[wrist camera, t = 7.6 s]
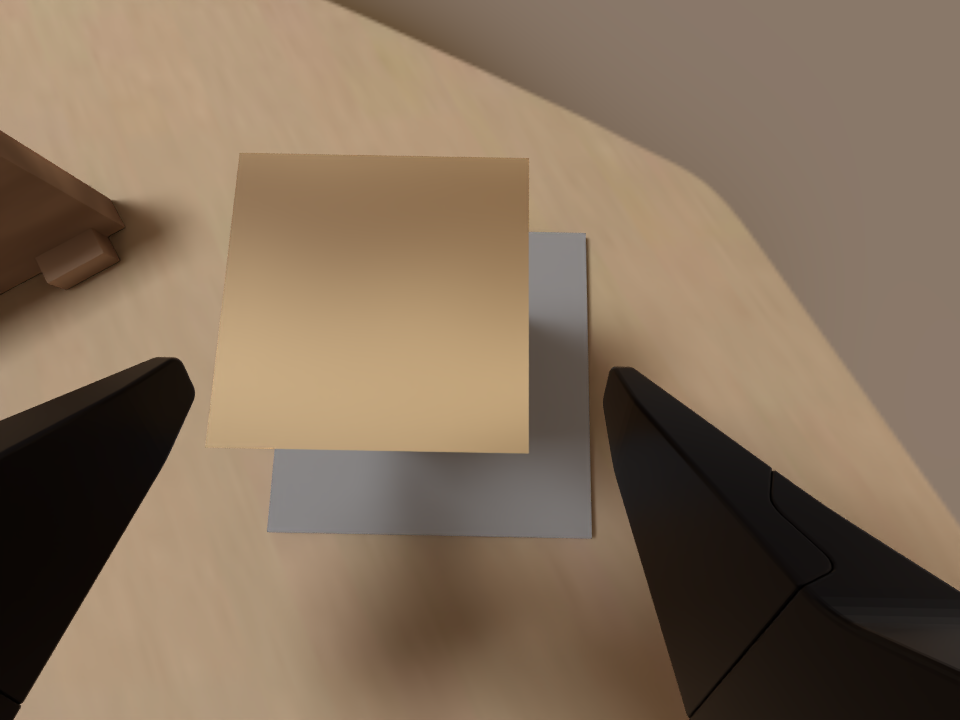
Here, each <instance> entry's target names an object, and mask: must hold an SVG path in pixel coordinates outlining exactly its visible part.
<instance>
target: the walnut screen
mask: <svg viewBox="0 0 960 720" xmlns="http://www.w3.org/2000/svg"><path fill="white" fill-rule="evenodd" d="M123 228H125V226H124V224H123V222H122V221H121V219H120V217H119V215H118V213H117V211H116V209H115V207H114V205H113V203H112V202H111V200H110V199H109V198H107V197H106V196H104V195H103V194H101V193H99V192H98V191H96V190H95V189H93V188H91V187H90V186H88V185H87V184H85V183H83V182H82V181H80V180H79V179H77V178H75V177H74V176H72V175H71V174H69V173H67V172H66V171H64V170H63V169H61V168H60V167H58V166H56V165H55V164H53V163H52V162H50V161H48V160H47V159H45V158H44V157H42V156H40V155H39V154H37V153H36V152H34V151H32V150H31V149H29V148H28V147H26V146H24V145H23V144H21V143H20V142H18V141H16V140H15V139H13V138H12V137H10V136H8V135H7V134H5V133H4V132H2V131H0V294H2V293H4V292H6V291H7V290H9V289H11V288H13V287H15V286H17V285H19V284H20V283H22V282H24V281H26V280H28V279H30V278H32V277H34V276H35V275H37V274H39V273H41V272H42V273H43V276H44V278H45V280H46V282H47V283H48V284H51V285H54V286H56V287H59V288H62V289H65V290H67V289H69V288H71V287H73V286H74V285H76V284H78V283H80V282H82V281H84V280H85V279H87V278H89V277H91V276H93V275H95V274H96V273H98V272H100V271H102V270H104V269H106V268H107V267H109V266H111V265H113V264H115V263H117V262H119V261H120V260H119V258H118V256H117V254H116V252H115V250H114V248H113V246H112V244H111V242H110V240H109V239H108V236H110V235H112V234H114V233H115V232H117V231H119V230H121V229H123Z"/></svg>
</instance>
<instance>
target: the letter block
mask: <svg viewBox="0 0 960 720" xmlns="http://www.w3.org/2000/svg"><path fill="white" fill-rule="evenodd" d="M205 448H254V449H308V450H363V451H417V452H472V453H526V454H529V158H485V157H431V156H377V155H323V154H269V153H240V155H239V164H238V172H237V181H236V189H235V198H234V206H233V215H232V224H231V232H230V241H229V249H228V258H227V266H226V275H225V283H224V292H223V300H222V309H221V317H220V326H219V335H218V343H217V352H216V360H215V369H214V377H213V386H212V394H211V403H210V411H209V420H208V429H207V437H206V446H205Z"/></svg>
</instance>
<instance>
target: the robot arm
mask: <svg viewBox="0 0 960 720" xmlns="http://www.w3.org/2000/svg"><path fill="white" fill-rule="evenodd" d="M194 397H195V390H194V386H193V384H192V382H191V380H190V378H189V376H188V373H187V371H186V369H185V367H184V365H183V363H182V362H181V361H180V360H179V359H177V358H174V357H156V358H152V359H150V360H148V361H145V362H143V363H140V364H138V365H135V366H133V367H131V368H128V369H126V370H123V371H121V372H118V373H116V374H113V375H111V376H109V377H106V378H104V379H101V380H99V381H96V382H94V383H91V384H89V385H87V386H84V387H82V388H79V389H77V390H74V391H72V392H70V393H67V394H65V395H62V396H60V397H57V398H55V399H52V400H50V401H48V402H45V403H43V404H40V405H38V406H35V407H33V408H31V409H28V410H26V411H23V412H21V413H18V414H16V415H13V416H11V417H9V418H6V419H4V420H1V421H0V720H14V718H15V716H16V715H17V713H18V711H19V709H20V708H21V705H20V704H21V703H23V702H24V700H25V699H26V697H27V695H28V693H29V692H30V690H31V688H32V687H33V685H34V683H35V682H36V680H37V678H38V677H39V675H40V673H41V672H42V670H43V668H44V666H45V665H46V663H47V661H48V660H49V658H50V656H51V655H52V653H53V651H54V650H55V648H56V646H57V644H58V643H59V641H60V639H61V638H62V636H63V634H64V633H65V631H66V629H67V628H68V626H69V624H70V623H71V621H72V619H73V617H74V616H75V614H76V612H77V611H78V609H79V607H80V606H81V604H82V602H83V601H84V599H85V597H86V595H87V594H88V592H89V590H90V589H91V587H92V585H93V584H94V582H95V580H96V579H97V577H98V575H99V574H100V572H101V570H102V568H103V567H104V565H105V563H106V562H107V560H108V558H109V557H110V555H111V553H112V552H113V550H114V548H115V547H116V545H117V543H118V541H119V540H120V538H121V536H122V535H123V533H124V531H125V530H126V528H127V526H128V525H129V523H130V521H131V519H132V518H133V516H134V514H135V513H136V511H137V509H138V508H139V506H140V504H141V503H142V501H143V499H144V498H145V496H146V494H147V492H148V491H149V489H150V487H151V486H152V484H153V482H154V481H155V479H156V477H157V476H158V474H159V472H160V470H161V469H162V467H163V465H164V463H165V461H166V459H167V457H168V455H169V453H170V451H171V449H172V447H173V445H174V443H175V440H176V438H177V436H178V434H179V432H180V429H181V427H182V425H183V423H184V421H185V418H186V416H187V414H188V412H189V410H190V407H191V405H192V403H193V401H194ZM603 408H604V414H605V420H606V426H607V432H608V438H609V444H610V450H611V456H612V462H613V467H614V472H615V475H616V479H617V483H618V486H619V489H620V493H621V496H622V499H623V503H624V506H625V509H626V513H627V516H628V519H629V523H630V526H631V529H632V533H633V536H634V539H635V543H636V546H637V549H638V553H639V556H640V559H641V563H642V566H643V570H644V573H645V576H646V580H647V583H648V586H649V590H650V593H651V596H652V600H653V603H654V606H655V610H656V613H657V616H658V620H659V623H660V626H661V630H662V633H663V636H664V640H665V643H666V646H667V650H668V653H669V656H670V660H671V663H672V666H673V670H674V673H675V676H676V680H677V683H678V686H679V690H680V693H681V697H682V700H683V703H684V707H685V710H686V713H687V716H688V717H689V718H690V719H689V720H960V591H958V590H957V589H955V588H953V587H952V586H950V585H949V584H947V583H945V582H944V581H942V580H941V579H939V578H938V577H936V576H934V575H933V574H931V573H930V572H928V571H927V570H925V569H923V568H922V567H920V566H919V565H917V564H915V563H914V562H912V561H911V560H909V559H908V558H906V557H904V556H903V555H901V554H900V553H898V552H897V551H895V550H893V549H892V548H890V547H889V546H887V545H885V544H884V543H882V542H881V541H879V540H878V539H876V538H874V537H873V536H871V535H870V534H868V533H866V532H865V531H863V530H862V529H860V528H859V527H857V526H856V525H854V524H853V523H851V522H849V521H848V520H846V519H845V518H843V517H842V516H840V515H839V514H837V513H836V512H834V511H833V510H831V509H830V508H828V507H826V506H825V505H824V504H822V503H821V502H819V501H818V500H816V499H815V498H813V497H812V496H811V495H809V494H808V493H806V492H805V491H803V490H802V489H801V488H799V487H798V486H796V485H795V484H793V483H792V482H791V481H789V480H788V479H787V478H785V477H784V476H782V475H781V474H780V473H778V472H777V471H772V468H771V467H770V466H768V465H767V464H766V463H764V462H763V461H761V460H760V459H759V458H757V457H756V456H754V455H753V454H752V453H750V452H749V451H748V450H746V449H745V448H743V447H742V446H741V445H739V444H738V443H736V442H735V441H734V440H732V439H731V438H730V437H728V436H727V435H725V434H724V433H723V432H721V431H720V430H719V429H717V428H716V427H714V426H713V425H712V424H710V423H709V422H707V421H706V420H705V419H703V418H702V417H701V416H699V415H698V414H696V413H695V412H694V411H692V410H691V409H689V408H688V407H687V406H685V405H684V404H683V403H681V402H680V401H678V400H677V399H676V398H674V397H673V396H671V395H670V394H669V393H667V392H666V391H665V390H663V389H662V388H660V387H659V386H658V385H656V384H655V383H653V382H652V381H651V380H649V379H648V378H647V377H645V376H644V375H642V374H641V373H640V372H638V371H637V370H635V369H634V368H632V367H613V368H612V369H611V370H610V372H609V376H608V381H607V385H606V389H605V393H604V398H603Z"/></svg>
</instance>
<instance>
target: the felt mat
mask: <svg viewBox="0 0 960 720" xmlns="http://www.w3.org/2000/svg"><path fill="white" fill-rule="evenodd" d="M267 532H288V533H338V534H388V535H439V536H489V537H539V538H590V539H592V522H591V474H590V425H589V376H588V327H587V278H586V233H556V232H529V454H526V453H472V452H417V451H363V450H308V449H275V452H274V463H273V473H272V484H271V495H270V505H269V516H268V527H267Z"/></svg>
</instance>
